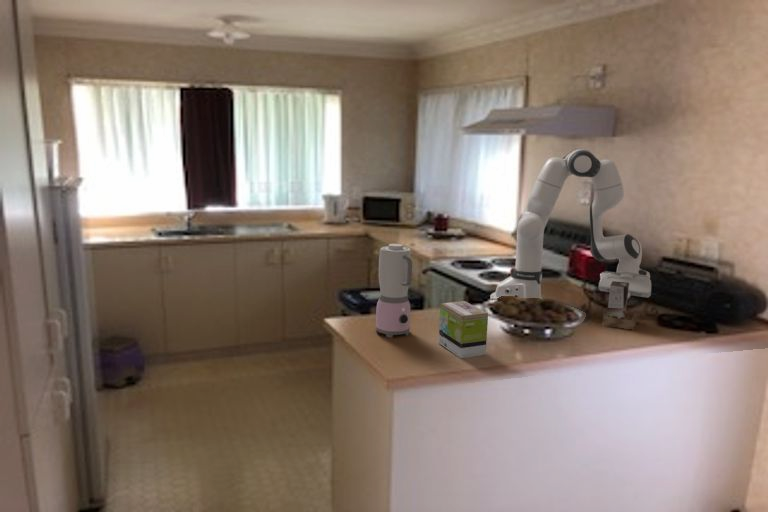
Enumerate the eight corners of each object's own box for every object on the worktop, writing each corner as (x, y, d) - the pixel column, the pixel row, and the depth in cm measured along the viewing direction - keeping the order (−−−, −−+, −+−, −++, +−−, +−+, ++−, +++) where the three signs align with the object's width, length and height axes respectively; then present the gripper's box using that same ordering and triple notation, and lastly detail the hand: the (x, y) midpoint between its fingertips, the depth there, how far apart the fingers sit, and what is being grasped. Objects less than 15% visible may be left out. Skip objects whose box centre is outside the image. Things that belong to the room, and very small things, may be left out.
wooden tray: (598, 325, 230) (599, 316, 229) (602, 316, 241) (603, 308, 240) (636, 331, 224) (637, 322, 223) (639, 322, 235) (640, 313, 234)
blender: (368, 330, 215) (371, 243, 209) (396, 325, 222) (399, 240, 215) (393, 343, 202) (396, 250, 196) (421, 337, 209) (426, 248, 203)
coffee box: (623, 328, 227) (627, 287, 224) (605, 325, 230) (609, 284, 227) (625, 322, 235) (629, 282, 232) (608, 319, 238) (612, 280, 235)
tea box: (437, 344, 203) (439, 302, 200) (462, 340, 207) (465, 299, 204) (460, 359, 189) (462, 314, 186) (486, 355, 193) (489, 311, 190)
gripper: (601, 266, 251) (595, 293, 245) (653, 273, 242) (649, 301, 236) (601, 274, 256) (595, 301, 249) (652, 281, 247) (648, 309, 241)
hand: (622, 301), depth 242 cm, fingers closed
